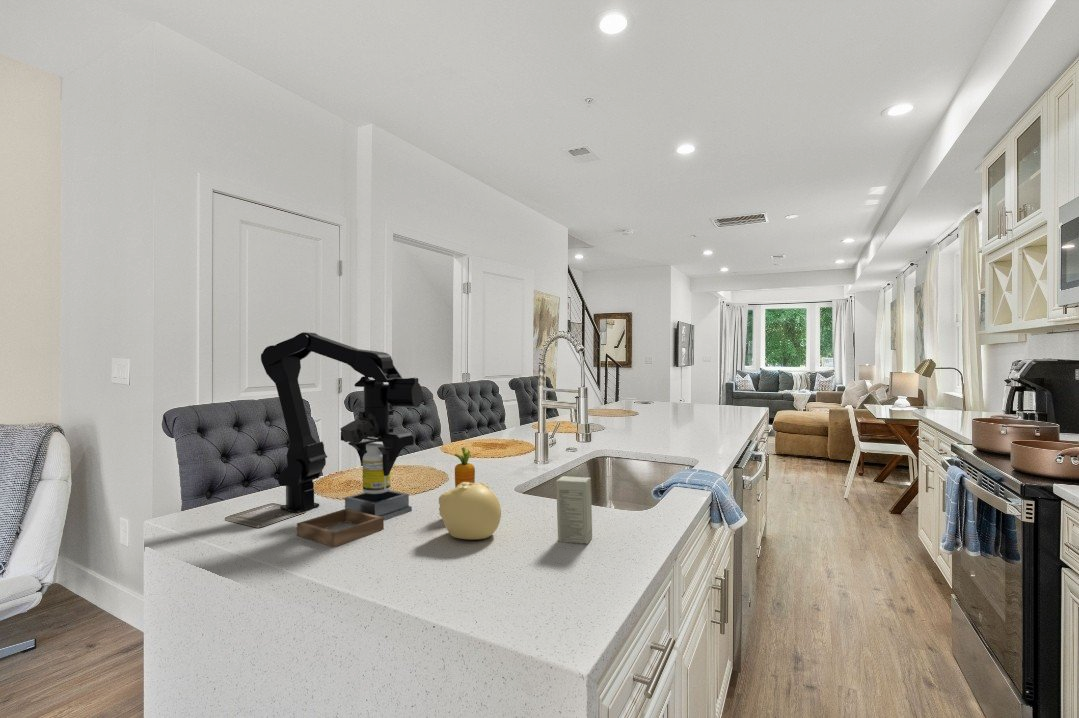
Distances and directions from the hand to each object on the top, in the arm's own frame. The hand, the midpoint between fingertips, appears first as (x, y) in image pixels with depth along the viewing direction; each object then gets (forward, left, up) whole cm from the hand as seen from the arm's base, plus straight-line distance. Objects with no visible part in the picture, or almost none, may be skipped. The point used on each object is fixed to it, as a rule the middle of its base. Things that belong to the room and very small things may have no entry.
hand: (376, 473), depth 124 cm
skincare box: (+47, +9, -9) cm, 49 cm away
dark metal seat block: (0, 0, -9) cm, 9 cm away
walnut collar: (+4, -13, -9) cm, 16 cm away
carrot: (+17, +11, -9) cm, 22 cm away
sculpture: (+28, 0, -9) cm, 30 cm away
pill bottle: (0, 0, -4) cm, 4 cm away
